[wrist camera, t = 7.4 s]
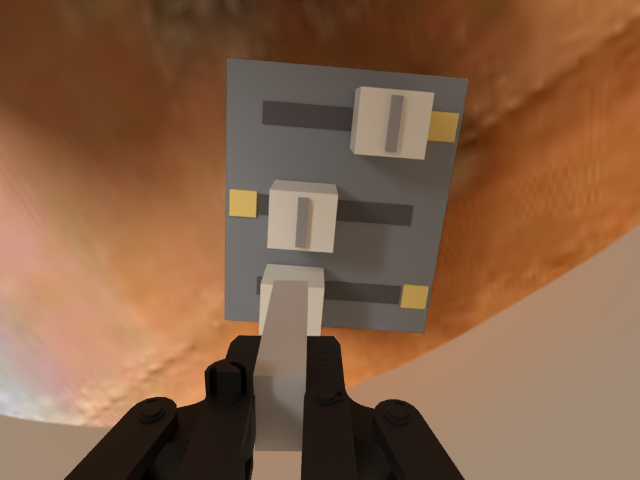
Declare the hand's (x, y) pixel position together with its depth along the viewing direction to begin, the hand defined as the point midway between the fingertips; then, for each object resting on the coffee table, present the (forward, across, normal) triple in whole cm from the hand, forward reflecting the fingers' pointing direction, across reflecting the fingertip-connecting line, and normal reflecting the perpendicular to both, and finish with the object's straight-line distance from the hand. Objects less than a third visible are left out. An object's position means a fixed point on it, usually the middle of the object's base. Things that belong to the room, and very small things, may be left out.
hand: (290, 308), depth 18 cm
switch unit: (+16, +2, +2) cm, 16 cm away
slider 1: (+11, 0, +2) cm, 11 cm away
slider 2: (+11, 0, -4) cm, 11 cm away
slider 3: (+11, +5, +8) cm, 14 cm away
